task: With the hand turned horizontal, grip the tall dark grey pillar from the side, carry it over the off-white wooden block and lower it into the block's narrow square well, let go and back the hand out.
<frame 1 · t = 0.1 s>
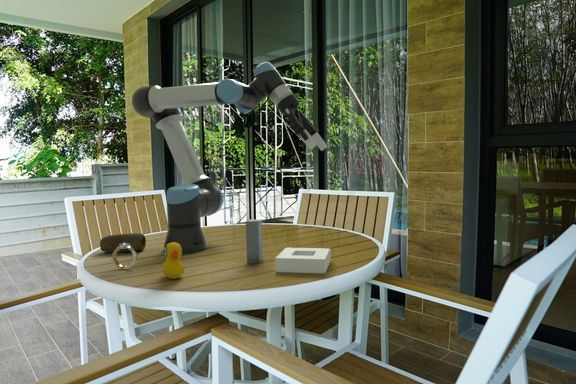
hand: (319, 148, 142), 36 cm above the table, tool tilted 35°, fingers open, 13 cm apart
duckling: (174, 278, 112), on the table
well block: (304, 266, 121), on the table
tall dark grey pillar: (255, 261, 129), on the table
stone weight: (124, 252, 148), on the table
ring: (125, 270, 123), on the table
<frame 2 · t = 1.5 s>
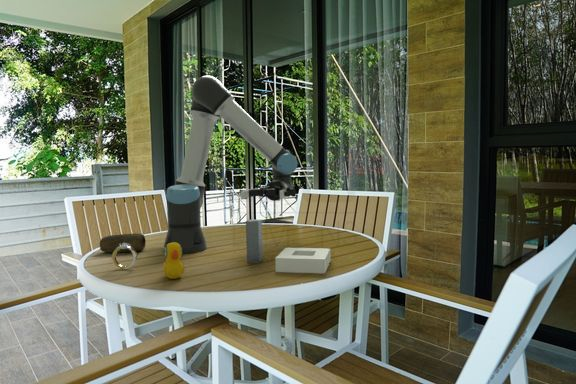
hand: (261, 195, 137), 20 cm above the table, tool horizontal, fingers open, 13 cm apart
nothing on the table moved.
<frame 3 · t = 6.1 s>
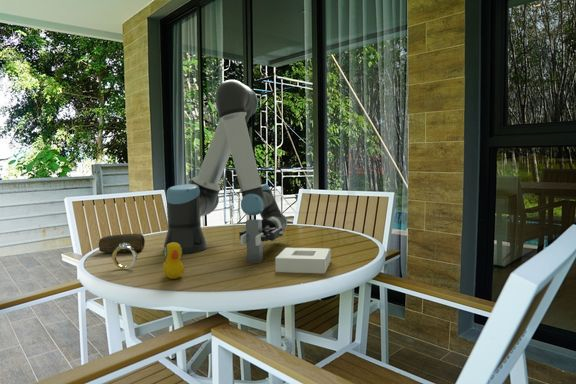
hand: (249, 240, 123), 8 cm above the table, tool horizontal, fingers closed on tall dark grey pillar, 4 cm apart
tall dark grey pillar: (255, 261, 129), on the table, touching gripper
everything else where it was.
when the fingers open (10 cm above the table, at t = 10.6 s): tall dark grey pillar drops 2 cm, resting in well block.
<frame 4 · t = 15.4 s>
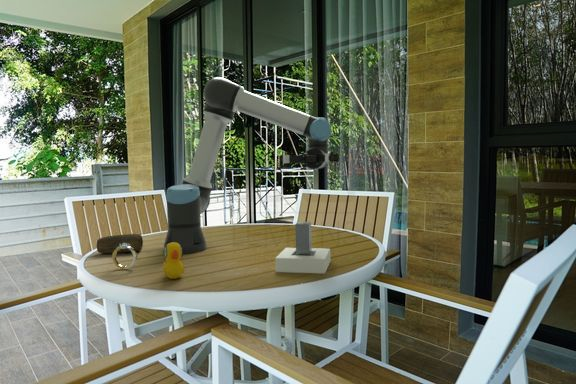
hand: (304, 158, 130), 32 cm above the table, tool horizontal, fingers open, 13 cm apart
tall dark grey pillar: (304, 266, 121), resting in well block
at the end: tall dark grey pillar 0.0 cm off-centre on the well block, point 0.0 cm above the well block's base; tall dark grey pillar tilted 0°; the gripper is holding nothing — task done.
